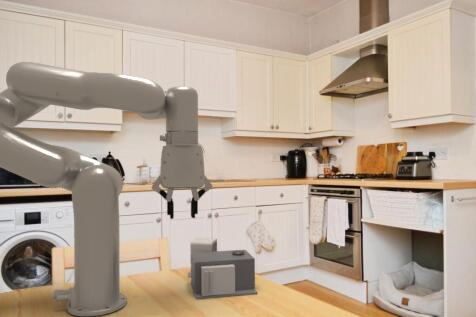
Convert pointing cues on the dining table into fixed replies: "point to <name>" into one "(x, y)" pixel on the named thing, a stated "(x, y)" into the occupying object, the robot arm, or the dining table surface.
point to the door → (217, 280)
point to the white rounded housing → (202, 246)
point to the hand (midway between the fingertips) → (182, 216)
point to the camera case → (237, 257)
